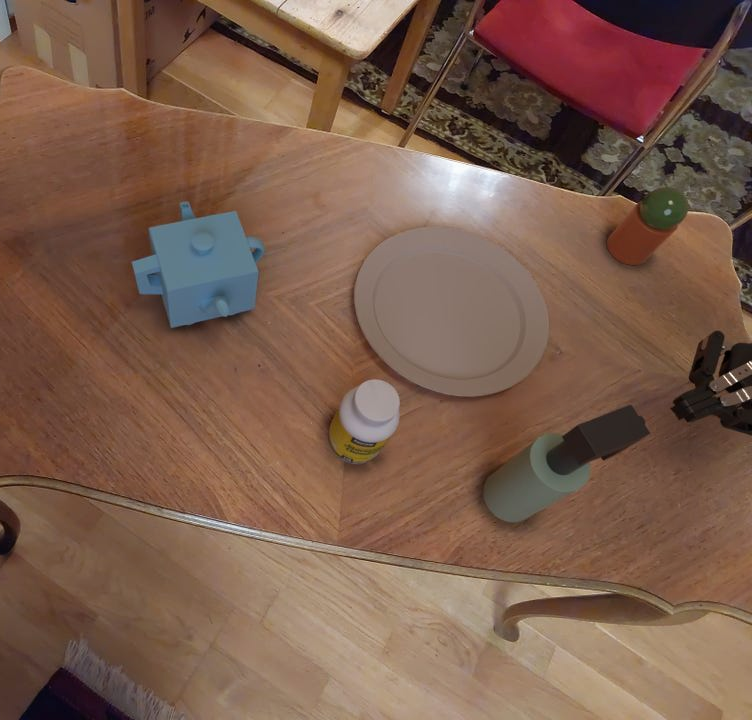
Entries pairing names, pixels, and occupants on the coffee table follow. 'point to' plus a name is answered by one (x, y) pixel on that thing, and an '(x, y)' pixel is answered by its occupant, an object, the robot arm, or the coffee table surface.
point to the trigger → (615, 453)
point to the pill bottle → (364, 421)
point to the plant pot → (648, 225)
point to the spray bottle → (558, 464)
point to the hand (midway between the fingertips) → (679, 411)
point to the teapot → (201, 267)
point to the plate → (451, 311)
